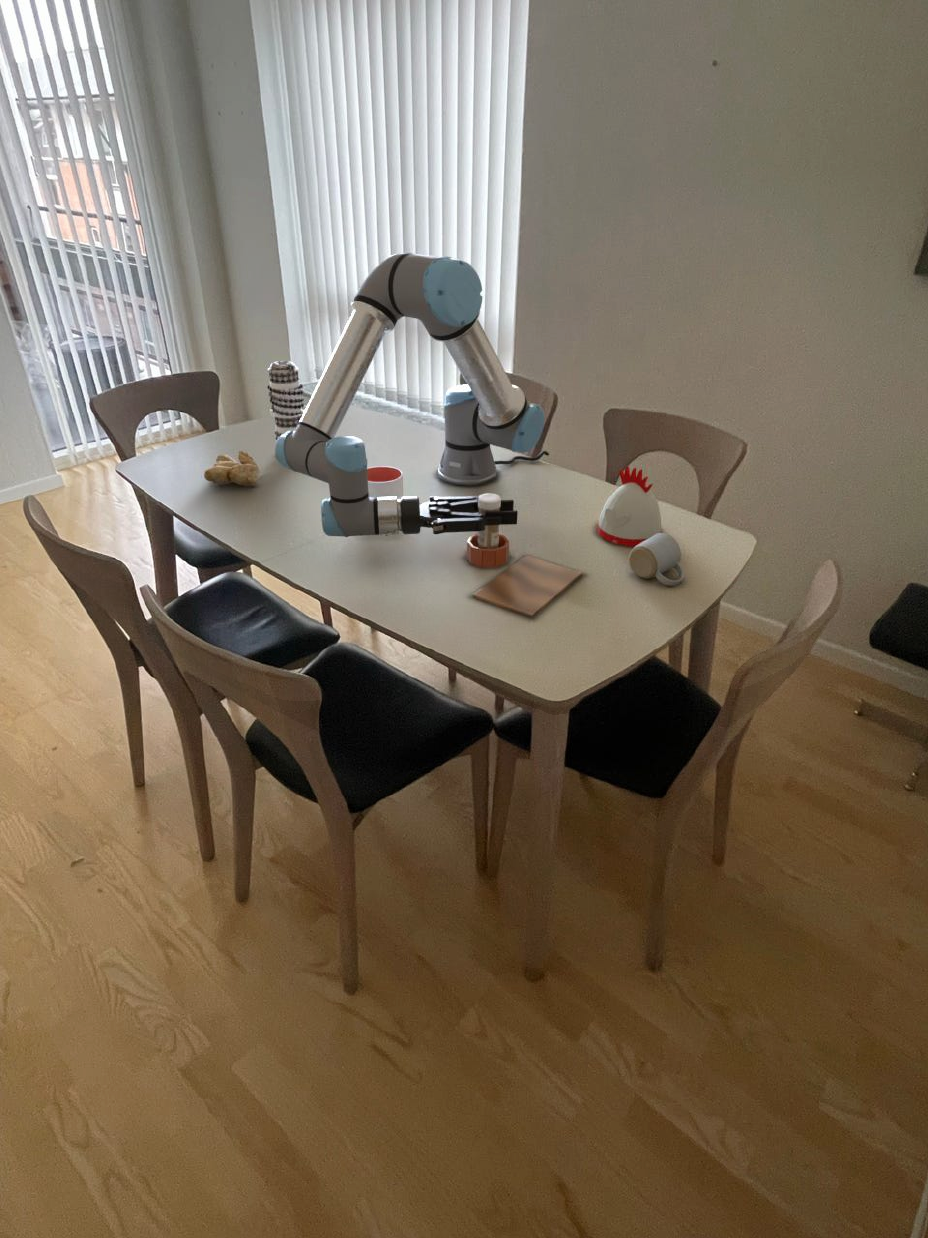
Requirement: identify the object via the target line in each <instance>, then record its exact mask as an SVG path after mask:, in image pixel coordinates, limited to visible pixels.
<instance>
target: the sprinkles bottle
mask: <svg viewBox="0 0 928 1238" xmlns="http://www.w3.org/2000/svg"><path fill="white" fill-rule="evenodd" d="M478 496H479V498H478V506H479V507H478V508H479V512H478V513H479V514H485V511H499V509H500V506H501V500H502V498H501V496H499V495H498V494H497V493H482V494H480V495H478ZM477 534H478V548H481V549H497V548H498V543H499V534H500V525H485V530H484V531H477Z"/></svg>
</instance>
